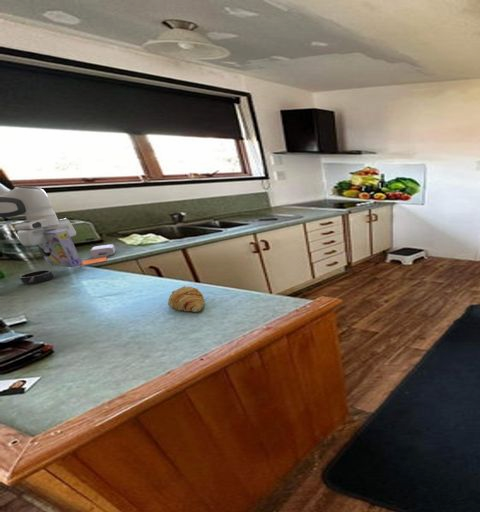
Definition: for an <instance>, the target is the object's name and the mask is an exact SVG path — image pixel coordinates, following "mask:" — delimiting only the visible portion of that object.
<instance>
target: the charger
mask: <svg viewBox="0 0 480 512" xmlns="http://www.w3.org/2000/svg"><path fill="white" fill-rule="evenodd" d="M116 251H117V250H116V246H115V244H113V243H112V244H104V245H103V244H101V245H97V246H92V248H91V249H90V250H89V253H90V256H91V258H92V259H96V258H101V257H109V255H110V256H113V255H115V253H116Z"/></svg>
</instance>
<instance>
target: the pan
mask: <svg viewBox="0 0 480 512" xmlns="http://www.w3.org/2000/svg"><path fill="white" fill-rule="evenodd" d="M32 277H36V279H35V280H34V282H33V283H29V281H30V279H31V278H32ZM54 278H55V276H54V273H53V272H52V270H50V269H42V270H36V271H31V272H28V273H24V274H22V275H20V276H19V279H20V281H21V284H23V285H26V284H27V285H36V283H37V284H41V283H44V282H48V281H50V280H53V279H54Z"/></svg>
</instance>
